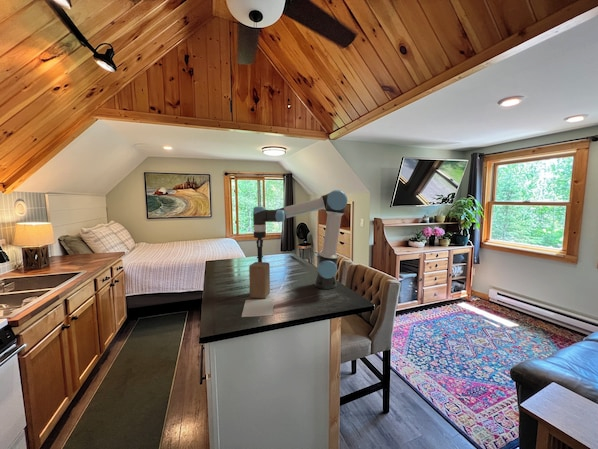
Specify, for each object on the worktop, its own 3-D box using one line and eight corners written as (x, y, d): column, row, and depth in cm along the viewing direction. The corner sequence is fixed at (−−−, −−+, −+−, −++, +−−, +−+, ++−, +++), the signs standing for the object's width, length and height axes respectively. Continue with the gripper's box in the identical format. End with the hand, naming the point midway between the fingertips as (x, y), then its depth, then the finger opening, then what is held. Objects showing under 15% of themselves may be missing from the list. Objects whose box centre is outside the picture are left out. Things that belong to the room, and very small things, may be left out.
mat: (273, 299, 148) (273, 298, 148) (273, 315, 127) (273, 314, 127) (245, 300, 146) (245, 299, 146) (241, 317, 125) (241, 316, 125)
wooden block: (265, 299, 147) (264, 266, 145) (249, 298, 149) (248, 265, 147) (270, 293, 157) (269, 262, 155) (255, 292, 159) (254, 261, 157)
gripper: (254, 230, 163) (254, 265, 165) (252, 232, 150) (253, 270, 153) (265, 229, 164) (266, 265, 166) (265, 232, 151) (265, 270, 153)
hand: (260, 267), depth 159 cm, fingers closed
